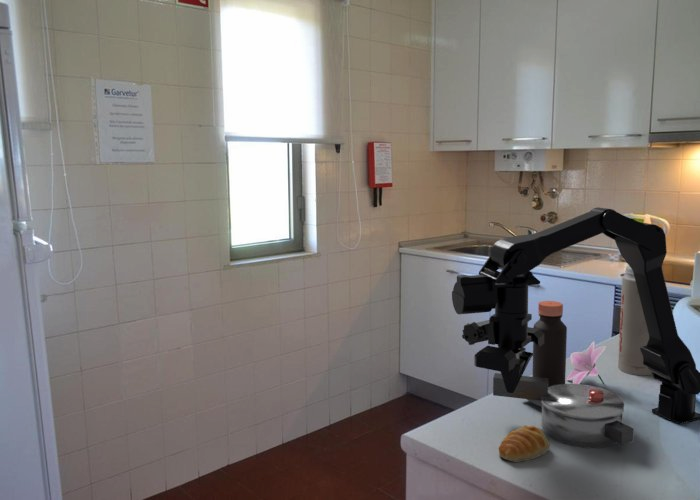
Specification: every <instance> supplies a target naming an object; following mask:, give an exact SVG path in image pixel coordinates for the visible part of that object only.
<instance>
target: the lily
mask: <svg viewBox="0 0 700 500" xmlns="http://www.w3.org/2000/svg"><path fill="white" fill-rule="evenodd" d="M606 349H607V345H602V346H598V347H596V348H595V340H593V341H592V342H591V344H590V345H589V346H588V348H587V349H586V351H585V352H583V351H575V352H572V353H571V354H570V362H571V365H572V367H573V369H572V370H571V371H570V373H569V374H568V376H567V377H566V378H565V381H570V380H572V384H581V382H582V380H583V379H584V378H585V377H587V376H588V377H598V378H599V379H600V381H601V383H602V385H605V383H604V381H603V379H602V377H601V376H600V374H599V371H598V367H597V365H596V364H597V363H596V361H597V360H598V358H599V357H600V356H601V354H602V353H603V352H604V351H605V350H606Z"/></svg>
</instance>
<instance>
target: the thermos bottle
mask: <svg viewBox="0 0 700 500" xmlns="http://www.w3.org/2000/svg"><path fill="white" fill-rule="evenodd" d="M624 272H625V274H624V275H622V276H621V294H620V296H621V297H620V316H619V317H620V318H619V319H620V320H619V336H618V338H619V339H618V342H619V343H618V357H617V358H618V360H617V361H618V362H617V368H618V370H619V371H621V372H624V373H627V374H629V375H636V376H650V375H652V372H651V371H650V370H649V369H648V367H647V366H645V365H643V355H642V353H641V350H640V347H643V346H646V345H647V342H648V340H649V333H648V329H647V325H646V321H645V317H644V313H643V309H642V305H641V301H640V297H639V293H638V289H637V285H636V281H635V277H634V273H633V270H632V269H631V267H630V266H629V265H627V266H626V267H625V270H624Z"/></svg>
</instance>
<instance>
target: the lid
mask: <svg viewBox="0 0 700 500" xmlns="http://www.w3.org/2000/svg"><path fill="white" fill-rule="evenodd" d="M492 378H493V379H492V381H493V382H492V384H493V385H492V396H495V397H504V398H513V399H522V400H523V399H524V400H527V399H530V400H539V401H541V402H542V404H543V405H544V406H545V407H546V408H547V409H549V410H550V411H552V412H554V413H556V414H559V415H562V416H565V417H569V418H574V419H580V420H591V421H599V420H609V419H613V418H616V417H618V416H620V415H621V414H622V415H623V413H624V411H625V403H624V400H623V398H622V397H620V396H619V395H618V394H616V393H615V392H612V391H610V390H607V389H605V388H603V387H598V386H594V385H590V384H583V383H582V384H581V383H580V384H573V383H565V384H559V385H553V386H550V387H548V378H540V377H532V376H527V375H522V377H521V379H520V381H519V383H518V385H517V387H516V389H515V391H514V392H513V393H508V392H507V390H506V387H505V384H504V381H503V378H502V375H501V372H500V373H499V372H498V373H497V372H495V373H494V375H493V377H492Z"/></svg>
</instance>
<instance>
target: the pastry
mask: <svg viewBox="0 0 700 500" xmlns="http://www.w3.org/2000/svg"><path fill="white" fill-rule="evenodd" d="M550 446H551V445H550V443H549V441H548V439H547V437H546V434H545V432H544V431H543V429H542V430H541V428H539V427H537V426H535V425H523V426H521V427H520V428H518V429H515V430H512V431H510V432H509V433H508V434H507V435H506V436H505V437H504V438H503V440H502V441H501V442H500V445H499V446H498V454H499V457H500V458H502V459H504V460H507V461H510V462H514V463H519V462H523V461H531V460H534V458H537V457H541V455H542V456H543V455H544V454H545V453H546V452H548V450H549V449H550Z"/></svg>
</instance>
